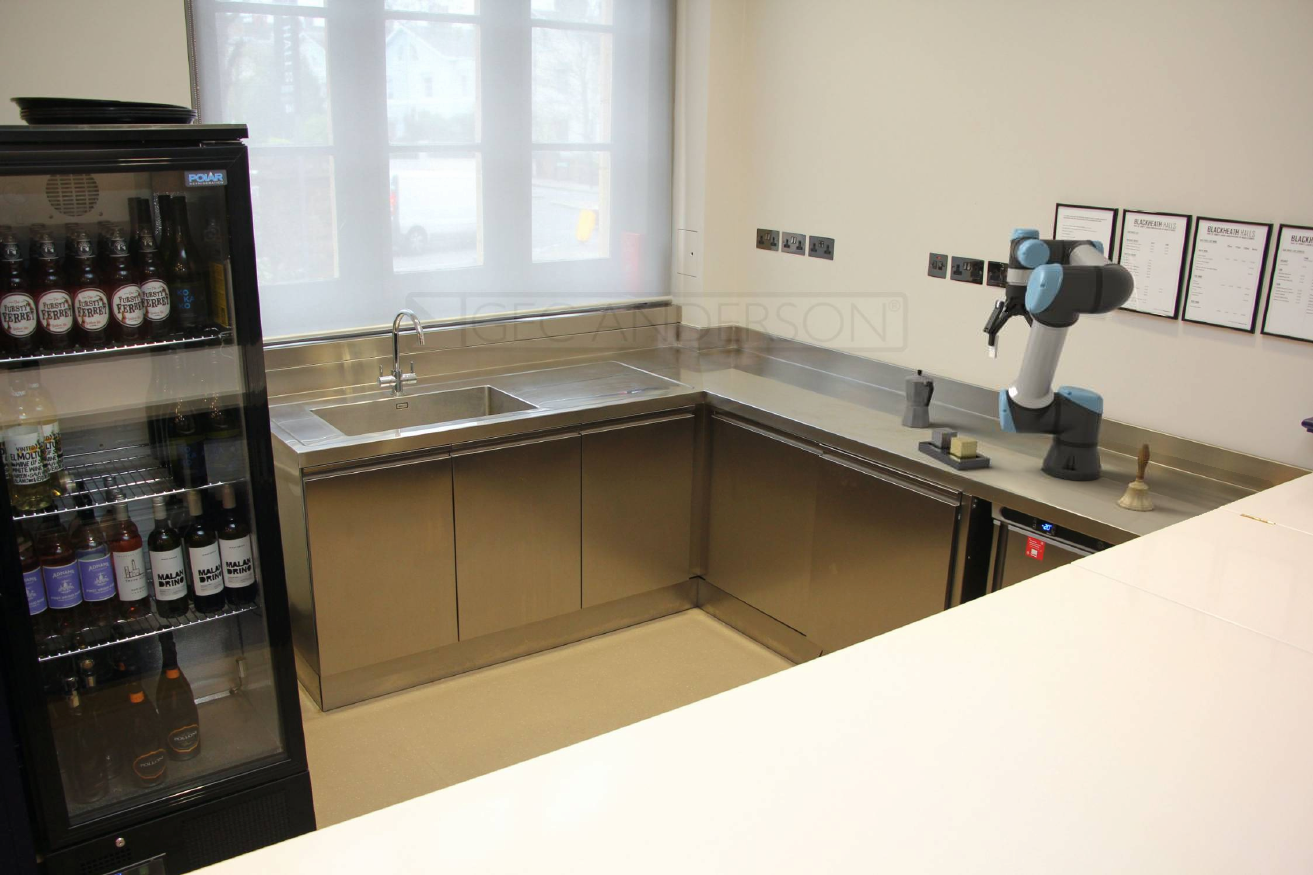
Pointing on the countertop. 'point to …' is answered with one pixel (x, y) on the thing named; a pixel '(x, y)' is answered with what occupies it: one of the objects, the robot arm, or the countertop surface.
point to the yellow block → (963, 447)
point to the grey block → (942, 438)
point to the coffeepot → (917, 400)
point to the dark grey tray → (953, 458)
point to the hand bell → (1138, 486)
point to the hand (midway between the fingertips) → (1012, 355)
